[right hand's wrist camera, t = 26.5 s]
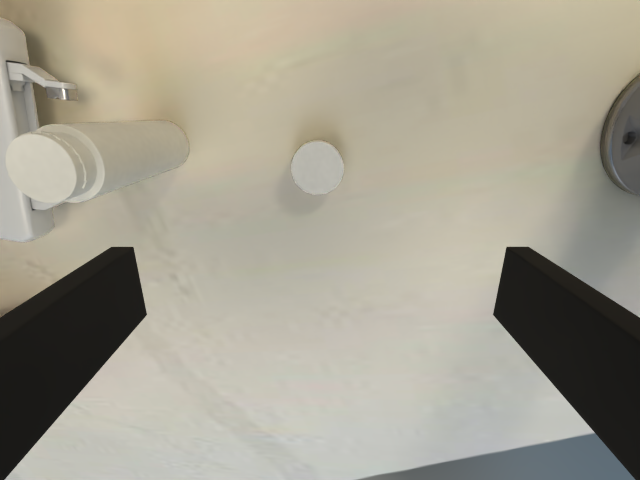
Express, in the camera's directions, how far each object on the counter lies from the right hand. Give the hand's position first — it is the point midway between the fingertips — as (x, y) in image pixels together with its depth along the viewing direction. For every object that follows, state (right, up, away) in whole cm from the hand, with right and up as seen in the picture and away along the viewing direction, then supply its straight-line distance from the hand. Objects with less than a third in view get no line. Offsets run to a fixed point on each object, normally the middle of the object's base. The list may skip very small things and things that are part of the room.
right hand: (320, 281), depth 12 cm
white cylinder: (0, +9, +25) cm, 27 cm away
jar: (-17, +12, +27) cm, 34 cm away
